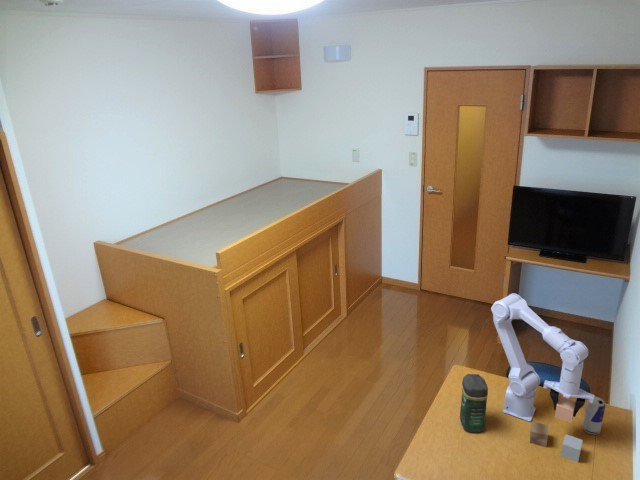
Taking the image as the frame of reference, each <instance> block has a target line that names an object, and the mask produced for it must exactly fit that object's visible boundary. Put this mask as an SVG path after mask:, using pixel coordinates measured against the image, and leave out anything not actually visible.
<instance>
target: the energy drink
mask: <svg viewBox="0 0 640 480" xmlns="http://www.w3.org/2000/svg"><path fill="white" fill-rule="evenodd" d="M605 411H606V402H605V400H604V399H603V398H601V397H599V396H595V395H594V400H593V403H590V402H589V401H588V400H586V406H585V411H584V417H583V420H582V421H583V422H582V429H583V430H584V432H586V433H587V434H589V435H592V436H593V435H594V436H595V435H600V433H601V431H602V425H603V419H604V414H605Z"/></svg>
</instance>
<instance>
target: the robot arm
mask: <svg viewBox="0 0 640 480" xmlns="http://www.w3.org/2000/svg"><path fill="white" fill-rule="evenodd" d="M490 310H491V312H492V321H493V325H494V327H495V329H496V332H497V334H498V337H499V340H500V342H501V345H502V348H503V350H504V353H505V355H506V358H507V360H508V364H509V366H510V371H509V372H508V373H509V374H508V379H509V385H508V386H507V388H506V391H505V396H504V401H503V402H504V403H503V404H504V405H503V410H502V412H503V413H504V414H507V415H509V416H512V417H516V418H519V419H521V420H523V421H527V422H532V420H533V418H534V415H535V411H536V410H537V409H536V407H535V406H534V404H535V397H536V389H537V387H539V386H540V385H541V378H540V376H539V374H538V373H537V372H536V371H535V368H534V367H533V366H532V365H531V364H528V363H527V361H526V358H525V355H524V353H523V350H522V348H521V344H520V342H519V339H518V337H517V334H516V332H515V329H514V326H513V324H512V321H513V320H522V321H524V322H525V323H527V324H528V325H529V326H531V327H532V328H534V329H535V330H536V331H537V332H539V333H540V334H541V336H542V339H543V341H544V342H546V343H547V344H548V345H549V346H550V347H551V348H553V349H554V350H555V351H556V352H557V353H559V355H560V358H561V361H562V364H561V371H560V378H559V381H551V380H544V383H543V389H546V390H547V389H549V390H550V391H549V396H550V398H551V401H552V404H553V410H554V411H555V412H556V406H557V402H558V400H559V397H560V395H562V398H566V399H571V398H576V399H575V402H576V403H575V410H574V413H573V418H576V416H577V414H578V412H579V411H580V410H581V409H582V408H583V407H584V406H585V403H586V401H587V400H588V401H589V402H590V403H593V400H594V396H595V394H593V393H590V392H588V391H586V390H584V389H582V388H580V385H581V379H582V374H583V368H584V360H585V359H587V357H588V356H589V354H590V353H589V349H588V347H587V346H586V345H585V343H583V342H582V341H578V340H575V339H572V338H570V337H569V336H568V335H567V334H565V332H563V330H562V329H561V328H559V327H557V326H550V325H549V324H548V323H547V322H545V321H544V320H543V319H542V318H541V317H540V316H539V315H538V314H537V313H536V312H534V310H532V309H531V308H530V307H529V306H528V303H527V301H526V299H524V298H522V296H521V295H520V294H517V293H509V295H506V296H505V297H503V298H502V299H499V300H496V301H495V302H494V303H493V304H492V306H491V308H490Z"/></svg>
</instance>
